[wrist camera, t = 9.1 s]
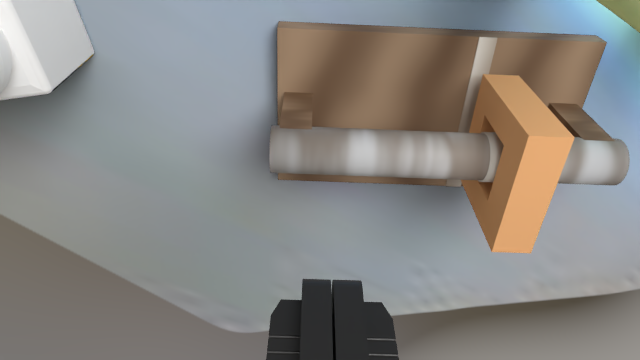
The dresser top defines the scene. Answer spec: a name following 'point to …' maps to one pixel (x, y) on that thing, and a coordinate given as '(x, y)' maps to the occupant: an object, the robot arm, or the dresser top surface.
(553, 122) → the collar
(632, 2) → the tube
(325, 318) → the robot arm
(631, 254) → the dresser top surface
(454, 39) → the pipe stand
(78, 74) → the dresser top surface
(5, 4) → the medicine bottle
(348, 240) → the dresser top surface
